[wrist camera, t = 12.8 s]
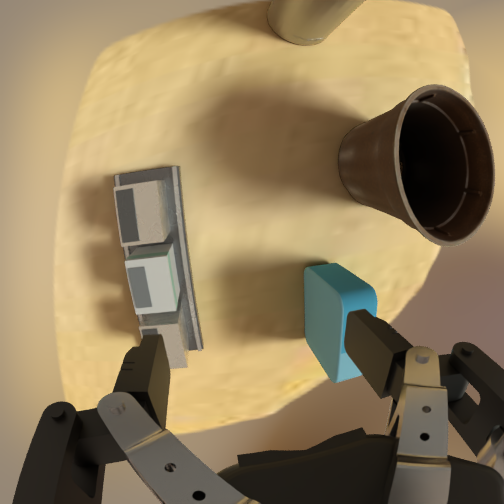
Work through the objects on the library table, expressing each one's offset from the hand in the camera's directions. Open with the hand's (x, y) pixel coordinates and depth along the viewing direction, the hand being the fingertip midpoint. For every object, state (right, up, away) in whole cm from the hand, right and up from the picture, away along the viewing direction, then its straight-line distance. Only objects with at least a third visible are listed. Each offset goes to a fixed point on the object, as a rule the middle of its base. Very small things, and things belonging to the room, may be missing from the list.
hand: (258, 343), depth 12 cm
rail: (-12, +2, +24) cm, 27 cm away
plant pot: (+17, +16, +25) cm, 34 cm away
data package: (+9, -3, +29) cm, 30 cm away
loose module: (-12, +2, +22) cm, 25 cm away
